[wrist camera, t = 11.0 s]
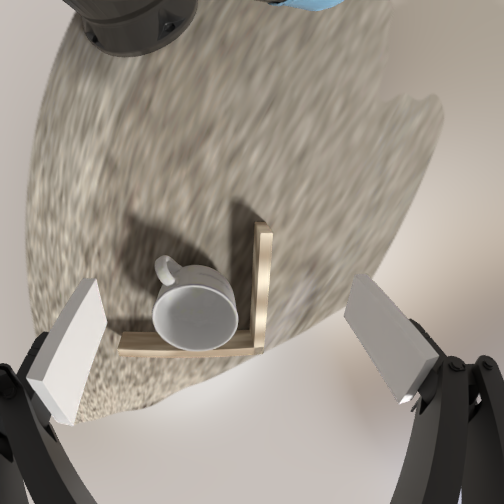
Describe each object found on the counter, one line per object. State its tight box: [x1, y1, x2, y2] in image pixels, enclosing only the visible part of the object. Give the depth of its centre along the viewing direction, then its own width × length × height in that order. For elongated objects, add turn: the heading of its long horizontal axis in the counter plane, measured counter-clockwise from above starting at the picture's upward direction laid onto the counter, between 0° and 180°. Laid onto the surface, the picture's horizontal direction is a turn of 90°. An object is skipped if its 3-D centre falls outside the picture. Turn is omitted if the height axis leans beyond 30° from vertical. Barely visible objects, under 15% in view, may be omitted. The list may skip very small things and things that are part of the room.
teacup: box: [152, 255, 238, 351], centre depth 36 cm, size 14×11×8 cm
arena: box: [118, 222, 273, 358], centre depth 38 cm, size 20×22×4 cm
